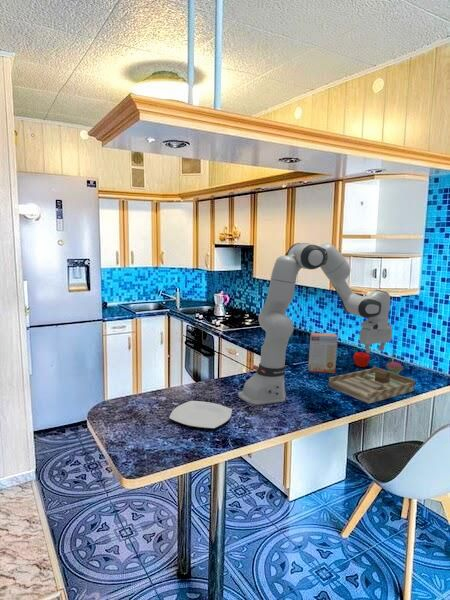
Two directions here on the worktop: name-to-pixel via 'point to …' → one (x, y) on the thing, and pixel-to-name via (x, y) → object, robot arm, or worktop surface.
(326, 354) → the cracker box
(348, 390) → the trap deck
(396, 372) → the cupcake
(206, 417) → the plate
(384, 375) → the walnut block
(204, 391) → the worktop surface
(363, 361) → the apple
